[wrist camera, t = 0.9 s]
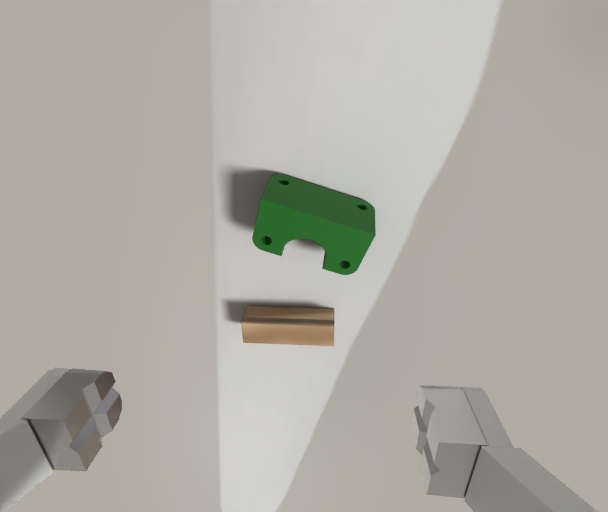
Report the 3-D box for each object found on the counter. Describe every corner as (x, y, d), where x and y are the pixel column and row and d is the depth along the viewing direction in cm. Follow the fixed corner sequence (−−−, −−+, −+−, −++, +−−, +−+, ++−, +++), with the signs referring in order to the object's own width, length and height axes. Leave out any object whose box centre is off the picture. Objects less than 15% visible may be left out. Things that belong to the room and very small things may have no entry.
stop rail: (247, 304, 44) (240, 321, 41) (334, 306, 44) (334, 324, 40) (249, 324, 46) (243, 342, 43) (333, 327, 45) (333, 346, 42)
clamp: (284, 205, 43) (237, 237, 36) (297, 162, 39) (246, 189, 32) (369, 256, 40) (334, 301, 33) (391, 215, 36) (356, 257, 30)
